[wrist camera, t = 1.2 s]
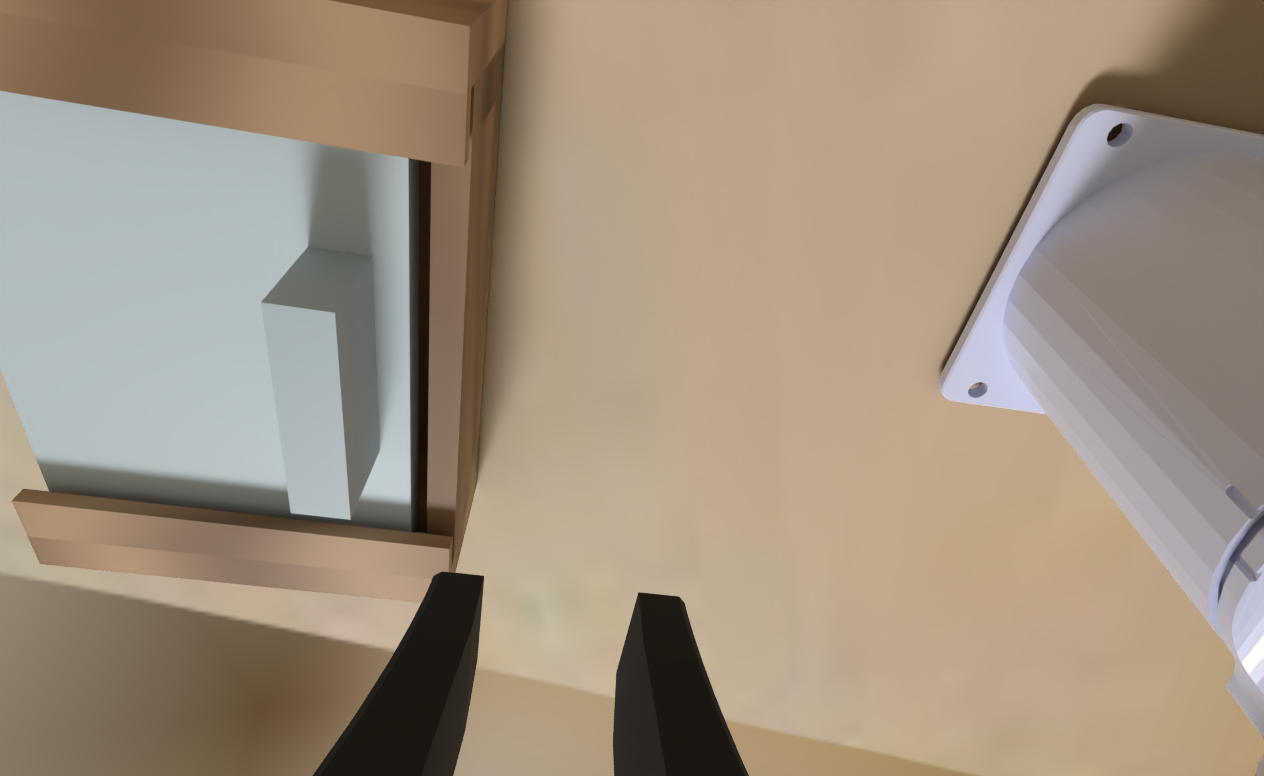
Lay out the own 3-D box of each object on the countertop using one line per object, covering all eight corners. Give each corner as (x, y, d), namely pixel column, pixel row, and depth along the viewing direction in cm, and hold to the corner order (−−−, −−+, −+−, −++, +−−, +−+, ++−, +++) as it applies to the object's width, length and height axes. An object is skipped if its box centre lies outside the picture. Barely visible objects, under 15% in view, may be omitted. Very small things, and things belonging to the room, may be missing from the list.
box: (508, -13, 15) (469, 25, 11) (475, 486, 23) (447, 605, 19) (-25, -116, 14) (-264, -110, 10) (139, 446, 22) (40, 564, 18)
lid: (418, 79, 13) (370, 128, 10) (418, 524, 19) (388, 618, 17) (-111, -15, 12) (-299, 16, 10) (76, 485, 18) (-7, 579, 16)
